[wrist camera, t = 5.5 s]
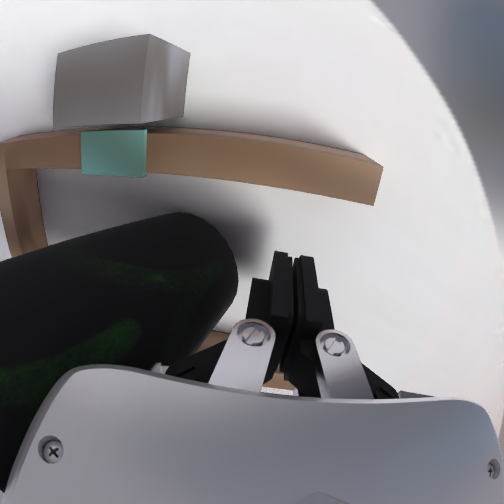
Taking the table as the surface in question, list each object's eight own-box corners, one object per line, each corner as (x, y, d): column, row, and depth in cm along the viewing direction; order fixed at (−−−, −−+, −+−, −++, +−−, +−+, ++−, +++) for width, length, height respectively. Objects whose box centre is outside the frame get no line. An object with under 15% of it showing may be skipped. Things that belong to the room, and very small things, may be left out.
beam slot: (302, 361, 17) (302, 413, 14) (52, 303, 18) (25, 335, 15) (378, 80, 9) (418, 70, 6) (21, 83, 10) (-27, 90, 6)
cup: (131, 291, 16) (-23, 396, 6) (140, 170, 13) (-97, 252, 3) (237, 356, 14) (89, 531, 4) (283, 228, 11) (-30, 495, 1)
